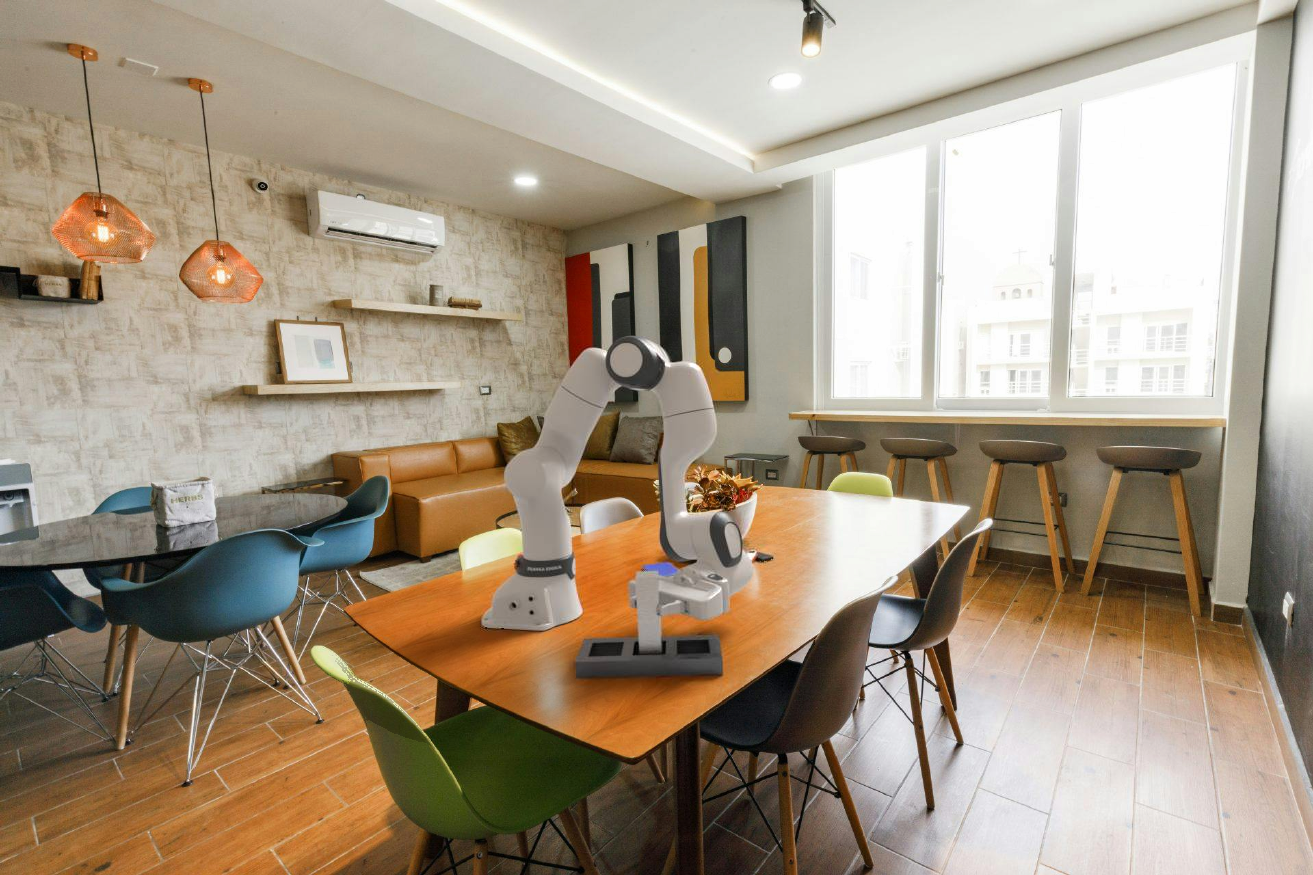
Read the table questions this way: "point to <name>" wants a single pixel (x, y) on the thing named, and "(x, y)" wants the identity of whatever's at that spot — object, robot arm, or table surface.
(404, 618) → the table surface
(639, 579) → the post
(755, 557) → the multimeter
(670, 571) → the hard drive
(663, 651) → the dark grey flat frame
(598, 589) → the table surface
